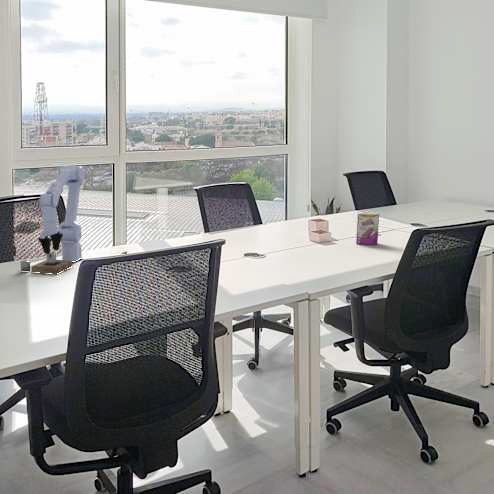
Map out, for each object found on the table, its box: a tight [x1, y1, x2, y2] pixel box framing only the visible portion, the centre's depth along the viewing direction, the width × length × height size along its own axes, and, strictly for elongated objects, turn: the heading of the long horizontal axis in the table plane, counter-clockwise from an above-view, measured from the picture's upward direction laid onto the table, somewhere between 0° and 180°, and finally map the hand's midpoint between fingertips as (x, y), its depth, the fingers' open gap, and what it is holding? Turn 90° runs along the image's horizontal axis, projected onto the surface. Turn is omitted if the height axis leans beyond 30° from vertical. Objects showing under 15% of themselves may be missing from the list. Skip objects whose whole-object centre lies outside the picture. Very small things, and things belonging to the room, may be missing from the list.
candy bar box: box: [355, 211, 380, 246], centre depth 359 cm, size 11×5×16 cm, turn 84°
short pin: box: [19, 259, 31, 272], centre depth 296 cm, size 4×4×4 cm
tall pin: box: [45, 252, 57, 266], centre depth 298 cm, size 4×4×8 cm
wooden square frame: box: [30, 259, 74, 274], centre depth 299 cm, size 14×12×3 cm
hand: (51, 251), depth 297 cm, fingers open, 7 cm apart
